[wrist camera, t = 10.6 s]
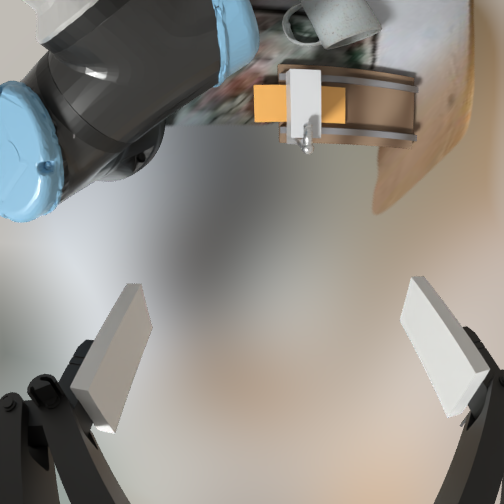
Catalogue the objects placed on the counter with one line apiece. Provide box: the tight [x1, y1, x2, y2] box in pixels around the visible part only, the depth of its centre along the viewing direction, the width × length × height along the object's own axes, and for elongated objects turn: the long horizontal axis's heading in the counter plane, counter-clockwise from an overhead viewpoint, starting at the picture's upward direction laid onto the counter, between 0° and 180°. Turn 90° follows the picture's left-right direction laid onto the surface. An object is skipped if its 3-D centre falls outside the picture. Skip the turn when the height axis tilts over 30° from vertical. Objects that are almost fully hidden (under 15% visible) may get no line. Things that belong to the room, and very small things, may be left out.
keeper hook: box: [286, 122, 314, 154], centre depth 32 cm, size 2×3×10 cm
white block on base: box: [254, 69, 345, 138], centre depth 31 cm, size 11×7×8 cm, turn 92°
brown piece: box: [277, 64, 418, 149], centre depth 35 cm, size 18×10×3 cm, turn 92°
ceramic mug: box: [282, 0, 382, 50], centre depth 28 cm, size 11×8×8 cm
